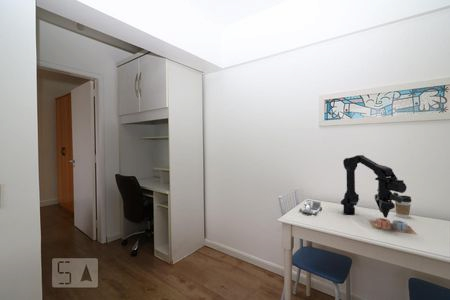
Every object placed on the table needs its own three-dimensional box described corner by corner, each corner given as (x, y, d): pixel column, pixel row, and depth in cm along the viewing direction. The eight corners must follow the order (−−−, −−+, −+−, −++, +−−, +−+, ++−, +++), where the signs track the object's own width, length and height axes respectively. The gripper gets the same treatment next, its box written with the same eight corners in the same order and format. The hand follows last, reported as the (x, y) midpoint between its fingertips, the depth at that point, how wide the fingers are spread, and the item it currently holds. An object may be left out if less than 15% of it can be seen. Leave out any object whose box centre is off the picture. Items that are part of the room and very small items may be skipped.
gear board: (372, 230, 121) (372, 221, 121) (368, 222, 133) (368, 214, 132) (417, 237, 112) (418, 227, 112) (409, 228, 124) (409, 219, 124)
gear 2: (398, 230, 118) (398, 224, 118) (390, 225, 124) (390, 220, 124) (409, 230, 117) (410, 224, 117) (401, 225, 124) (401, 220, 123)
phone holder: (314, 203, 143) (297, 200, 150) (314, 217, 143) (297, 214, 151) (322, 197, 156) (306, 195, 164) (322, 210, 157) (306, 207, 164)
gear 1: (377, 226, 123) (377, 220, 123) (375, 222, 128) (375, 217, 128) (390, 228, 120) (391, 222, 120) (388, 224, 126) (388, 218, 125)
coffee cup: (412, 222, 133) (413, 198, 132) (395, 219, 137) (395, 197, 136) (409, 217, 140) (410, 195, 139) (393, 215, 144) (393, 193, 143)
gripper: (407, 194, 111) (406, 222, 112) (396, 186, 128) (395, 211, 128) (381, 192, 116) (380, 219, 117) (374, 185, 133) (374, 209, 133)
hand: (383, 214), depth 124 cm, fingers open, 9 cm apart
